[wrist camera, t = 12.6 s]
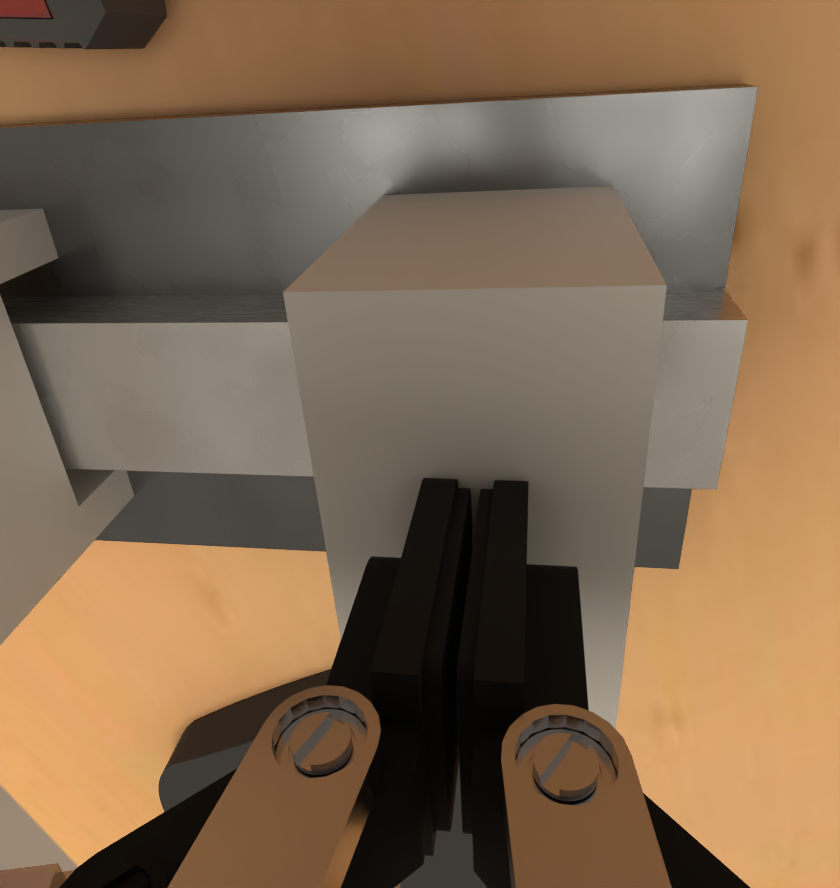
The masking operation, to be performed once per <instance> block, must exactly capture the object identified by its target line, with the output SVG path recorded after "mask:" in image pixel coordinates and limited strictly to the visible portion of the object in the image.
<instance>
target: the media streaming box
mask: <svg viewBox="0 0 840 888" xmlns="http://www.w3.org/2000/svg"><path fill="white" fill-rule="evenodd" d="M330 672H331V670H329V671H326V672H322V673H319V674H316V675H313V676H310V677H307V678H304V679H301V680H298V681H295V682H292V683H289V684H286V685H283V686H281V687H278V688H275V689H272V690H269V691H267V692H264V693H261V694H258V695H256V696H253V697H251V698H248V699H245V700H243V701H240V702H238V703H235V704H233V705H230V706H228V707H225V708H223V709H220V710H218V711H216V712H213V713H211V714H209V715H206V716H204V717H202V718H200V719H197V720H195V721H194V722H193V723H191V724H190V725H189V726H188V727H187V728H186V730H185V731H184V733H183V735H182V736H181V738H180V740H179V742H178V744H177V746H176V748H175V750H174V752H173V754H172V756H171V758H170V760H169V762H168V764H167V765H166V767H165V769H164V771H163V773H162V775H161V777H160V781H159V796H160V800H161V804H162V807H163V809H164V812H166V811H167V810H169V809H171V808H172V807H174V806H176V805H177V804H179V803H181V802H182V801H184V800H186V799H187V798H189V797H190V796H192V795H194V794H195V793H197V792H199V791H200V790H202V789H204V788H205V787H207V786H209V785H210V784H212V783H214V782H215V781H217V780H219V779H220V778H222V777H224V776H225V775H227V774H228V773H230V772H232V771H233V770H235V769H237V768H238V767H239V765H240V763H241V762H242V760H243V758H244V756H245V755H246V753H247V751H248V750H249V748H250V746H251V745H252V743H253V741H254V739H255V738H256V736H257V734H258V733H259V731H260V729H261V728H262V726H263V724H264V722H265V721H266V720H267V718H268V717H269V716H270V714H271V713H272V712H273V711H274V709H275V708H276V707H277V706H278V705H280V704H281V703H282V702H284V701H285V700H286V699H288V698H289V697H290V696H292V695H294V694H297V693H299V692H301V691H303V690H306V689H308V688H313V687H319V686H325V685H326V684H327V681H328V678H329V675H330ZM400 888H487V887H486V886H485V884H484V883H483V882H482V881H481V879H480V878H479V877H478V876H477V874H476V873H475V872H474V867H473V838H472V834H464V833H463V831H462V811H461V790H460V768H459V767H458V776H457V785H456V794H455V803H454V812H453V821H452V827H451V831H450V832H447V831H438V830H437V832H436V840H435V848H434V855H433V856H427V855H425V857H424V864H423V865H422V866H421V867H420V868H419V869H417V870H416V871H415V872H414V873H412V874H411V875H410V876H408V877H407V878H406V879H405V880H403V881H402V882H401V885H400Z"/></svg>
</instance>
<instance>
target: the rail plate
mask: <svg viewBox="0 0 840 888" xmlns="http://www.w3.org/2000/svg"><path fill="white" fill-rule="evenodd" d="M757 90H758V86H752V85H747V84H736V85H719V86H701V87H683V88H665V89H647V90H629V91H611V92H593V93H575V94H557V95H539V96H521V97H503V98H485V99H467V100H449V101H431V102H413V103H395V104H377V105H360V106H342V107H324V108H306V109H288V110H270V111H252V112H234V113H216V114H198V115H180V116H162V117H144V118H126V119H108V120H90V121H72V122H54V123H36V124H19V125H1V126H0V210H15V209H43V211H44V214H45V217H46V220H47V223H48V226H49V230H50V233H51V236H52V239H53V242H54V245H55V248H56V251H57V255H58V259H55V260H53V261H51V262H49V263H46V264H44V265H42V266H40V267H37V268H35V269H33V270H31V271H28V272H26V273H24V274H22V275H19V276H17V277H15V278H13V279H10V280H8V281H6V282H4V283H1V284H0V295H1V298H2V301H3V303H4V306H5V309H6V311H7V314H8V317H9V320H10V322H11V325H12V328H13V330H14V333H15V336H16V338H17V341H18V344H19V347H20V349H21V352H22V355H23V357H24V360H25V363H26V365H27V368H28V371H29V374H30V376H31V379H32V382H33V384H34V387H35V390H36V392H37V395H38V398H39V400H40V403H41V406H42V409H43V411H44V414H45V417H46V419H47V422H48V425H49V427H50V430H51V433H52V436H53V438H54V441H55V444H56V446H57V449H58V452H59V454H60V457H61V460H62V463H63V465H64V468H65V469H94V470H125V471H127V474H128V477H129V480H130V484H131V487H132V490H133V493H134V496H133V498H132V499H131V500H130V501H129V502H128V503H127V504H126V505H125V507H124V508H123V509H122V510H121V511H120V512H119V513H118V514H117V515H116V517H115V518H114V519H113V520H112V521H111V522H110V523H109V524H108V525H107V527H106V528H105V529H104V530H103V531H102V532H101V533H100V534H99V536H98V537H97V538H96V539H95V540H105V541H125V542H145V543H165V544H185V545H205V546H225V547H245V548H266V549H286V550H306V551H326V547H325V541H324V535H323V529H322V523H321V517H320V511H319V505H318V499H317V493H316V487H315V481H314V475H313V469H312V463H311V457H310V451H309V445H308V439H307V433H306V427H305V421H304V415H303V409H302V403H301V397H300V391H299V385H298V379H297V373H296V367H295V361H294V355H293V349H292V343H291V337H290V331H289V326H288V320H287V314H286V308H285V302H284V296H283V292H284V291H285V290H286V289H287V288H288V287H289V286H290V285H291V284H292V283H293V282H294V281H295V280H296V279H297V278H298V277H299V276H300V275H301V274H302V273H303V272H304V271H305V270H306V269H307V268H308V267H309V266H311V265H312V264H313V263H314V262H315V261H316V260H317V259H318V258H319V257H320V256H321V255H322V254H323V253H324V252H325V251H326V250H327V249H328V248H329V247H330V246H331V245H332V244H333V243H334V242H335V241H336V240H337V239H338V238H339V237H340V236H341V235H342V234H343V233H344V232H346V231H347V230H348V229H349V228H350V227H351V226H352V225H353V224H354V223H355V222H356V221H357V220H358V219H359V218H360V217H361V216H362V215H363V214H364V213H365V212H366V211H367V210H368V209H369V208H370V207H371V206H372V205H373V204H374V203H375V202H376V201H377V200H378V199H379V198H381V197H382V196H383V195H402V194H426V193H451V192H475V191H499V190H524V189H548V188H572V187H597V186H614V187H615V189H616V190H617V192H618V194H619V196H620V198H621V200H622V202H623V204H624V206H625V207H626V209H627V211H628V213H629V215H630V217H631V219H632V221H633V222H634V224H635V226H636V228H637V230H638V232H639V234H640V236H641V238H642V239H643V241H644V243H645V245H646V247H647V249H648V251H649V253H650V255H651V256H652V258H653V260H654V262H655V264H656V266H657V268H658V270H659V271H660V273H661V275H662V277H663V279H664V281H665V283H666V285H667V288H666V297H665V305H664V314H663V323H662V331H661V340H660V349H659V357H658V366H657V375H656V383H655V392H654V401H653V409H652V418H651V427H650V435H649V444H648V453H647V461H646V470H645V478H644V487H643V496H642V504H641V513H640V522H639V530H638V539H637V548H636V556H635V565H634V567H648V568H668V569H679V563H680V557H681V551H682V545H683V539H684V532H685V526H686V520H687V514H688V508H689V502H690V496H691V490H692V489H717V484H718V479H719V474H720V468H721V463H722V458H723V452H724V447H725V442H726V436H727V431H728V426H729V420H730V415H731V409H732V404H733V399H734V393H735V388H736V383H737V377H738V372H739V367H740V361H741V356H742V351H743V345H744V340H745V334H746V329H747V324H748V319H747V318H746V317H745V315H744V314H743V313H742V311H741V310H740V309H739V307H738V306H737V305H736V304H735V302H734V301H733V300H732V298H731V297H730V296H729V294H728V293H727V292H726V290H725V284H726V278H727V272H728V266H729V260H730V254H731V248H732V242H733V236H734V230H735V224H736V218H737V211H738V205H739V199H740V193H741V187H742V181H743V175H744V169H745V163H746V157H747V151H748V145H749V139H750V133H751V127H752V121H753V115H754V109H755V102H756V96H757Z"/></svg>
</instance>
